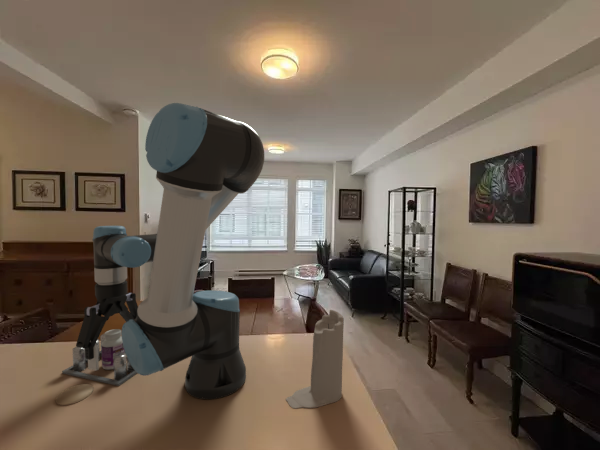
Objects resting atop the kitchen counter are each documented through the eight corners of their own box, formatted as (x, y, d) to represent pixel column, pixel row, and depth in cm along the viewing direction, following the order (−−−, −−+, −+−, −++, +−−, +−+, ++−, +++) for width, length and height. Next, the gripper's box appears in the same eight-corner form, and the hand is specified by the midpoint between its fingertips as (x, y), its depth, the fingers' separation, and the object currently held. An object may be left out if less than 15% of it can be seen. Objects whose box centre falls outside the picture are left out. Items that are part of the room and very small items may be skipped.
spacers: (152, 359, 83) (152, 340, 82) (120, 381, 72) (119, 359, 72) (107, 351, 87) (106, 332, 86) (70, 370, 76) (69, 349, 76)
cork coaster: (100, 388, 69) (100, 386, 69) (70, 407, 63) (70, 406, 63) (78, 383, 71) (78, 381, 71) (47, 401, 65) (47, 400, 64)
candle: (282, 394, 68) (283, 314, 67) (332, 381, 74) (334, 306, 72) (293, 414, 62) (294, 326, 60) (347, 398, 67) (349, 317, 66)
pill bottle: (116, 370, 77) (115, 336, 76) (97, 370, 77) (96, 336, 76) (129, 359, 82) (128, 327, 82) (111, 359, 82) (110, 327, 82)
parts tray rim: (160, 357, 84) (160, 355, 84) (118, 386, 70) (118, 383, 70) (109, 348, 89) (109, 346, 89) (62, 373, 75) (62, 371, 75)
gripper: (135, 271, 90) (136, 337, 92) (54, 292, 68) (58, 379, 69) (154, 272, 88) (155, 340, 90) (78, 295, 66) (81, 385, 67)
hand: (113, 357), depth 80 cm, fingers open, 11 cm apart
